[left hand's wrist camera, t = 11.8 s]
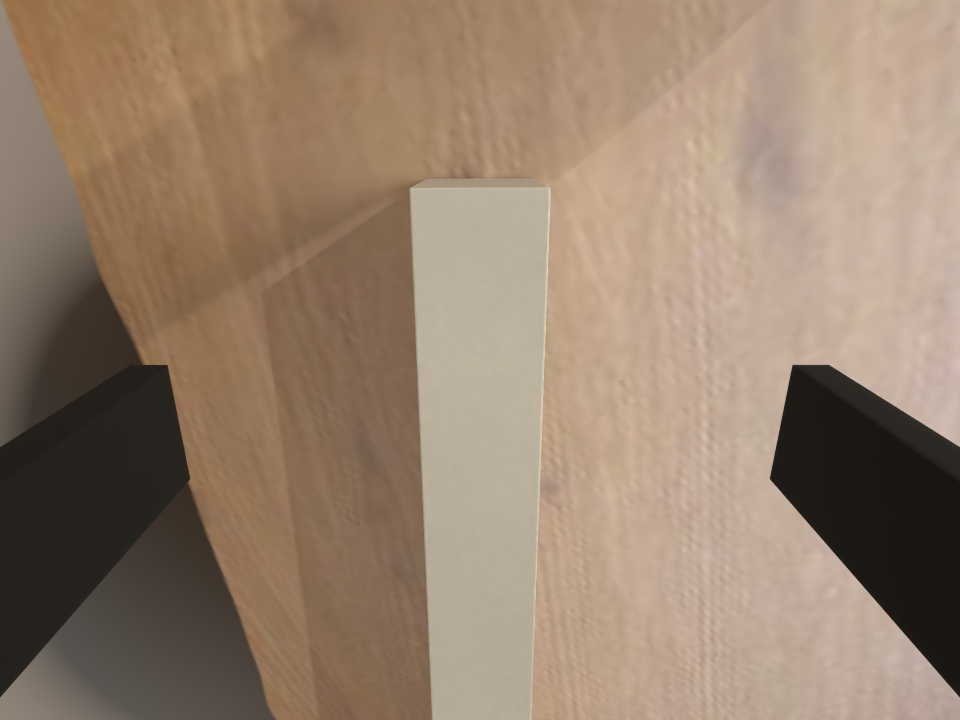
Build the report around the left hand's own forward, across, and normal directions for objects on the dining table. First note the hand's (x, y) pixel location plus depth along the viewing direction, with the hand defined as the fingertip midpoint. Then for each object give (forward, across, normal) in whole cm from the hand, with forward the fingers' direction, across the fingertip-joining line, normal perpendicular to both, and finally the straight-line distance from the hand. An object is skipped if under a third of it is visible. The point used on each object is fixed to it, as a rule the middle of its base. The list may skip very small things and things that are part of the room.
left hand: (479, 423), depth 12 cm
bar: (+20, 0, -26) cm, 33 cm away
